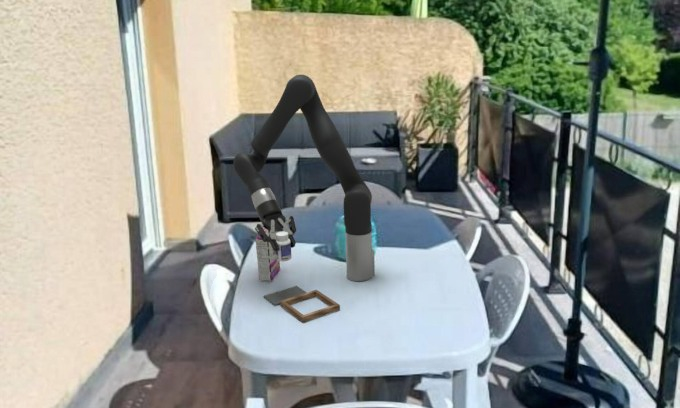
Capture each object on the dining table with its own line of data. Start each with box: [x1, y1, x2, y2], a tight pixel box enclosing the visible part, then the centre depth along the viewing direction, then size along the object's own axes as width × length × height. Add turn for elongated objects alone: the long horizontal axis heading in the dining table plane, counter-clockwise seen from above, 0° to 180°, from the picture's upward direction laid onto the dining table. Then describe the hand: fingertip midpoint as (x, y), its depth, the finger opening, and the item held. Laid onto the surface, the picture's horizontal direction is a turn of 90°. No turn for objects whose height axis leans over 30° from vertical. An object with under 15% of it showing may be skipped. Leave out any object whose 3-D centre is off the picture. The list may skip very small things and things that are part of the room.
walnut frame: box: [280, 289, 341, 324], centre depth 208 cm, size 14×14×2 cm
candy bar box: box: [255, 227, 281, 282], centre depth 232 cm, size 11×5×16 cm, turn 168°
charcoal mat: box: [262, 285, 307, 307], centre depth 217 cm, size 13×8×1 cm, turn 124°
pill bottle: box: [275, 231, 293, 262], centre depth 211 cm, size 5×5×9 cm
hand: (285, 248), depth 210 cm, fingers closed on pill bottle, 5 cm apart
